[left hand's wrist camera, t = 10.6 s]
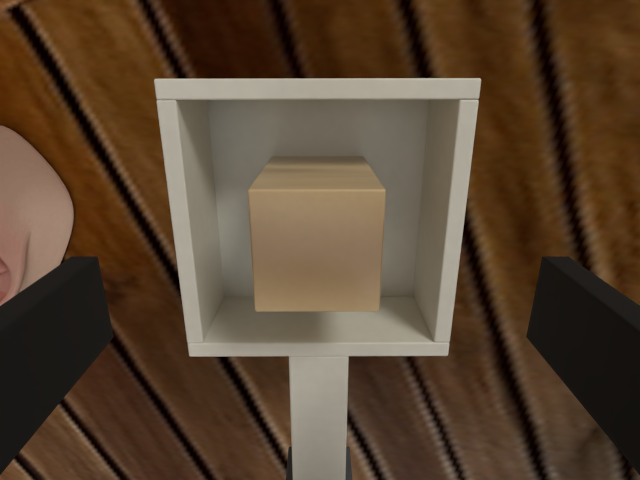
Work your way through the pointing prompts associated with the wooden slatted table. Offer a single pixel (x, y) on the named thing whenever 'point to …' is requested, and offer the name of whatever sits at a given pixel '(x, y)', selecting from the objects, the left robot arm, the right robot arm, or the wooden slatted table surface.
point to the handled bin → (398, 242)
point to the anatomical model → (29, 215)
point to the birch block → (316, 235)
